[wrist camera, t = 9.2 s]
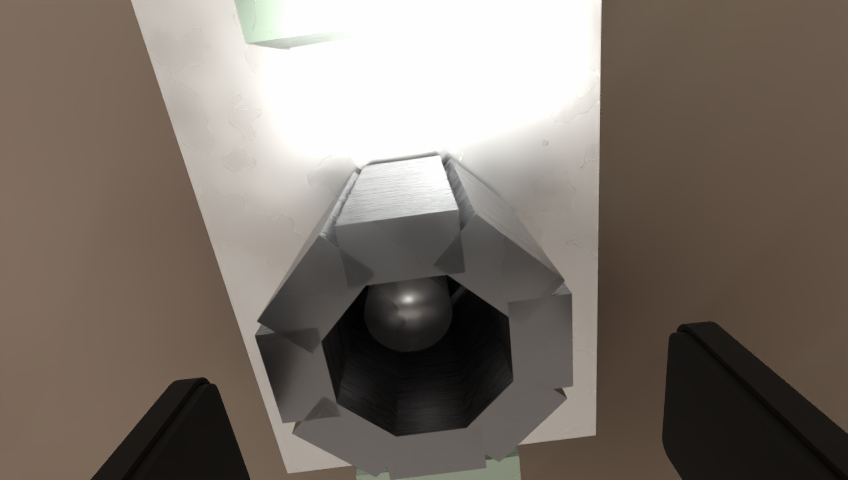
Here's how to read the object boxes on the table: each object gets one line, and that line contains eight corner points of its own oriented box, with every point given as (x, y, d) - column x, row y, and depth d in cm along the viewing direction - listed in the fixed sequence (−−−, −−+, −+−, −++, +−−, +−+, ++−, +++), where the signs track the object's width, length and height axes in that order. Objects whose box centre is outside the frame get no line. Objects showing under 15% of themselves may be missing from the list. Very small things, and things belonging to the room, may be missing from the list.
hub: (519, 328, 17) (573, 457, 11) (339, 352, 17) (304, 490, 11) (507, 146, 14) (570, 194, 9) (296, 175, 14) (223, 240, 9)
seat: (587, 418, 21) (646, 534, 15) (293, 455, 21) (255, 580, 16) (588, -92, 13) (700, -193, 8) (140, -25, 14) (-23, -83, 9)
